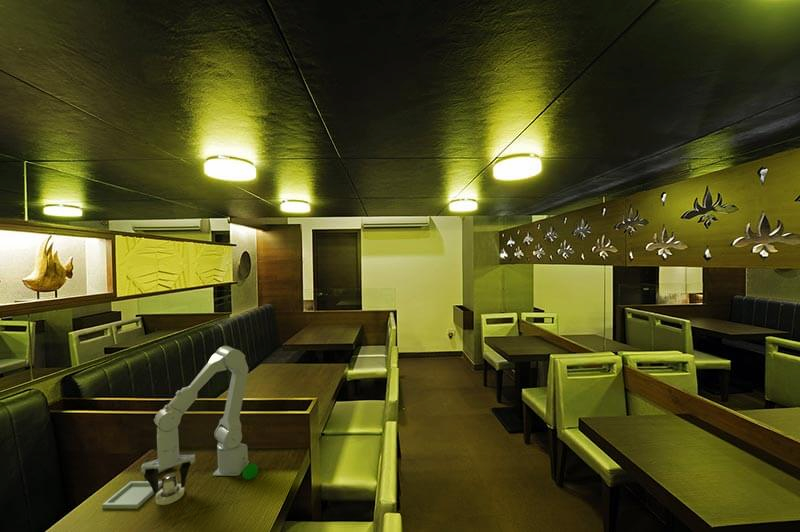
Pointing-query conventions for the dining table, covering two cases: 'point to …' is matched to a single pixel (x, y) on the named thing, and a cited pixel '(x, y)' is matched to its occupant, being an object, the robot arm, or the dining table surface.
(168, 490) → the metal cylinder
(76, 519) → the dining table surface
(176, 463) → the robot arm
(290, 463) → the dining table surface
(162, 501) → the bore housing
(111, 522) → the dining table surface
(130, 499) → the tray
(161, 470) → the pipe fitting
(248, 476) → the polyhedron
